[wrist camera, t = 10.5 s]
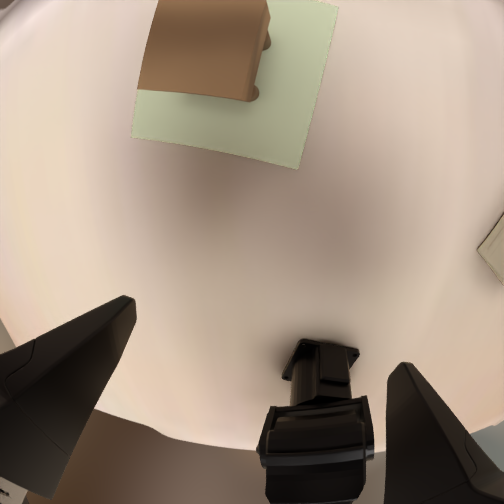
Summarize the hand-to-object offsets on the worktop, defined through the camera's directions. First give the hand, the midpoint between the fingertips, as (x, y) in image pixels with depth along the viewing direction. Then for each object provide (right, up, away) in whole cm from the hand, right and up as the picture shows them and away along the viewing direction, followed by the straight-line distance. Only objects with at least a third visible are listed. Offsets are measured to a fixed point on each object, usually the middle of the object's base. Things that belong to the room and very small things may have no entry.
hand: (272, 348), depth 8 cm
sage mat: (-2, +15, +7) cm, 17 cm away
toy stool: (-2, +15, +6) cm, 16 cm away
